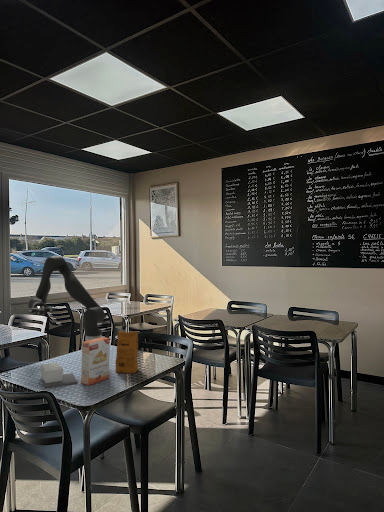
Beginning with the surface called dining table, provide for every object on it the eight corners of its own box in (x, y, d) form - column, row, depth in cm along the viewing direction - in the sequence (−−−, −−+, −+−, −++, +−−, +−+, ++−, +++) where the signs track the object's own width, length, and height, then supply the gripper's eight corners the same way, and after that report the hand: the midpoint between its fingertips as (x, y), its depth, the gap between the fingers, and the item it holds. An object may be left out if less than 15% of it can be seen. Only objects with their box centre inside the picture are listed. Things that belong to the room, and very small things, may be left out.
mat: (72, 375, 193) (72, 373, 193) (77, 383, 181) (77, 381, 181) (42, 379, 187) (42, 377, 187) (44, 388, 174) (45, 386, 174)
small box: (40, 376, 188) (45, 383, 177) (40, 364, 188) (45, 370, 177) (56, 374, 192) (62, 381, 181) (57, 362, 192) (63, 368, 181)
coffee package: (118, 367, 207) (119, 329, 207) (140, 368, 206) (140, 329, 206) (112, 373, 197) (113, 332, 197) (135, 374, 196) (135, 333, 196)
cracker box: (89, 386, 177) (89, 343, 177) (80, 383, 180) (81, 341, 180) (109, 378, 189) (110, 337, 189) (101, 376, 192) (102, 336, 192)
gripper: (27, 302, 215) (29, 305, 200) (51, 301, 221) (54, 304, 206) (27, 315, 215) (29, 319, 200) (51, 313, 221) (54, 317, 206)
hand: (42, 312), depth 203 cm, fingers closed
